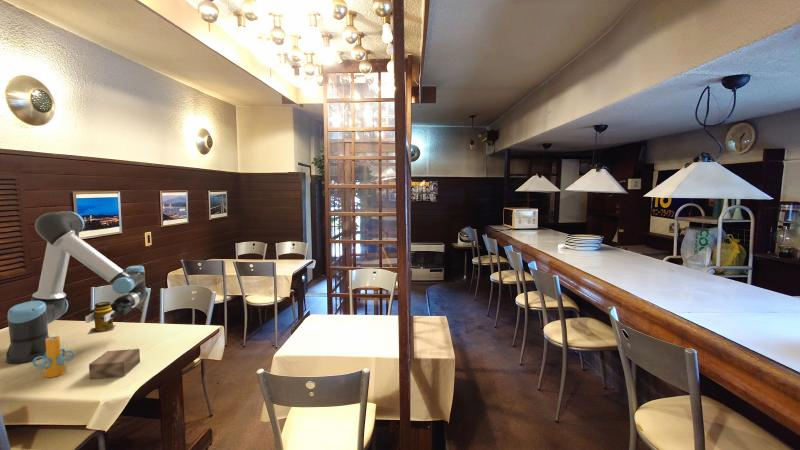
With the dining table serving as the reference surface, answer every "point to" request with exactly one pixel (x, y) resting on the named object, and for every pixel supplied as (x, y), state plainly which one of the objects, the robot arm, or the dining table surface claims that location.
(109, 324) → the condiment
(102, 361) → the riser
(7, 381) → the dining table surface
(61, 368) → the cylinder
